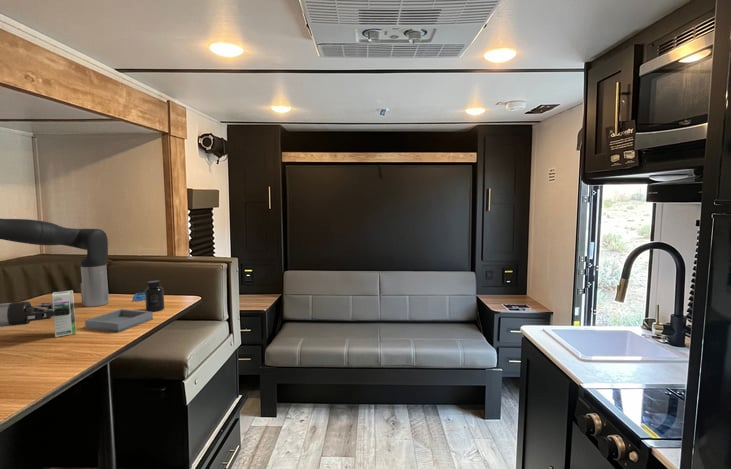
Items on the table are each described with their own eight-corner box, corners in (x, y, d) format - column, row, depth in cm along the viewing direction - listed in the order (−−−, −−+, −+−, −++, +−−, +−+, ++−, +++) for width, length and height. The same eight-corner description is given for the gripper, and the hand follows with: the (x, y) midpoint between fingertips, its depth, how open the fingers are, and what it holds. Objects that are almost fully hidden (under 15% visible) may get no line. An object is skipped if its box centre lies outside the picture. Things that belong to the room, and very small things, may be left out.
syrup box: (54, 337, 132) (51, 295, 131) (55, 332, 137) (52, 291, 135) (75, 334, 135) (73, 292, 134) (76, 329, 140) (73, 289, 139)
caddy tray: (85, 328, 141) (85, 320, 141) (122, 316, 156) (121, 308, 155) (118, 332, 137) (117, 323, 137) (152, 319, 151) (152, 311, 151)
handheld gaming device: (133, 299, 178) (135, 292, 191) (133, 302, 178) (135, 295, 191) (153, 297, 181) (154, 290, 195) (154, 300, 181) (154, 293, 195)
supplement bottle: (168, 307, 168) (166, 279, 166) (158, 312, 161) (156, 283, 160) (152, 307, 168) (151, 279, 167) (142, 311, 162) (140, 283, 160)
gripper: (-1, 308, 123) (65, 303, 129) (18, 297, 136) (77, 293, 142) (2, 332, 123) (67, 325, 130) (20, 319, 136) (78, 313, 143)
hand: (72, 308), depth 136 cm, fingers closed on syrup box, 6 cm apart
